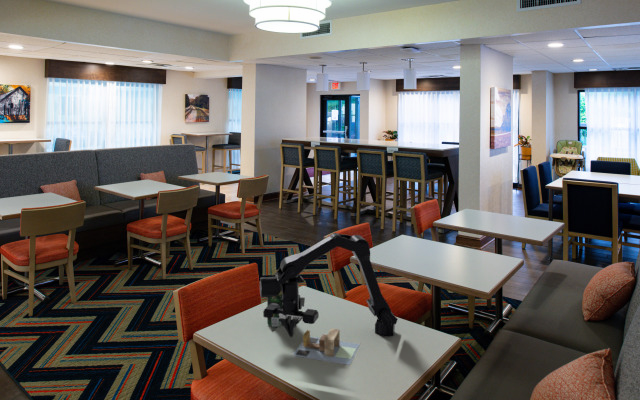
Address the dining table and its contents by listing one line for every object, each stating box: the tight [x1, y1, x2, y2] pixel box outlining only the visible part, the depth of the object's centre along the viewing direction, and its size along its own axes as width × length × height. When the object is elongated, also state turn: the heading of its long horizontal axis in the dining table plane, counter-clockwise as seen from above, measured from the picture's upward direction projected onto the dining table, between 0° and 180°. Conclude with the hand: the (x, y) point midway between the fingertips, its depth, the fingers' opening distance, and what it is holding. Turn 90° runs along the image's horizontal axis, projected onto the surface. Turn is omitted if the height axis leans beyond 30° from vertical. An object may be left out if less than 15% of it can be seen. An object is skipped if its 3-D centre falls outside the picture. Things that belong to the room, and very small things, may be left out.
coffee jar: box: [266, 276, 283, 329], centre depth 177 cm, size 10×8×19 cm
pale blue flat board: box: [292, 336, 361, 366], centre depth 155 cm, size 20×14×1 cm
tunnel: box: [324, 328, 341, 357], centre depth 154 cm, size 3×8×6 cm, turn 162°
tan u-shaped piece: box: [302, 329, 327, 352], centre depth 156 cm, size 10×4×5 cm, turn 72°
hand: (291, 336), depth 159 cm, fingers closed
